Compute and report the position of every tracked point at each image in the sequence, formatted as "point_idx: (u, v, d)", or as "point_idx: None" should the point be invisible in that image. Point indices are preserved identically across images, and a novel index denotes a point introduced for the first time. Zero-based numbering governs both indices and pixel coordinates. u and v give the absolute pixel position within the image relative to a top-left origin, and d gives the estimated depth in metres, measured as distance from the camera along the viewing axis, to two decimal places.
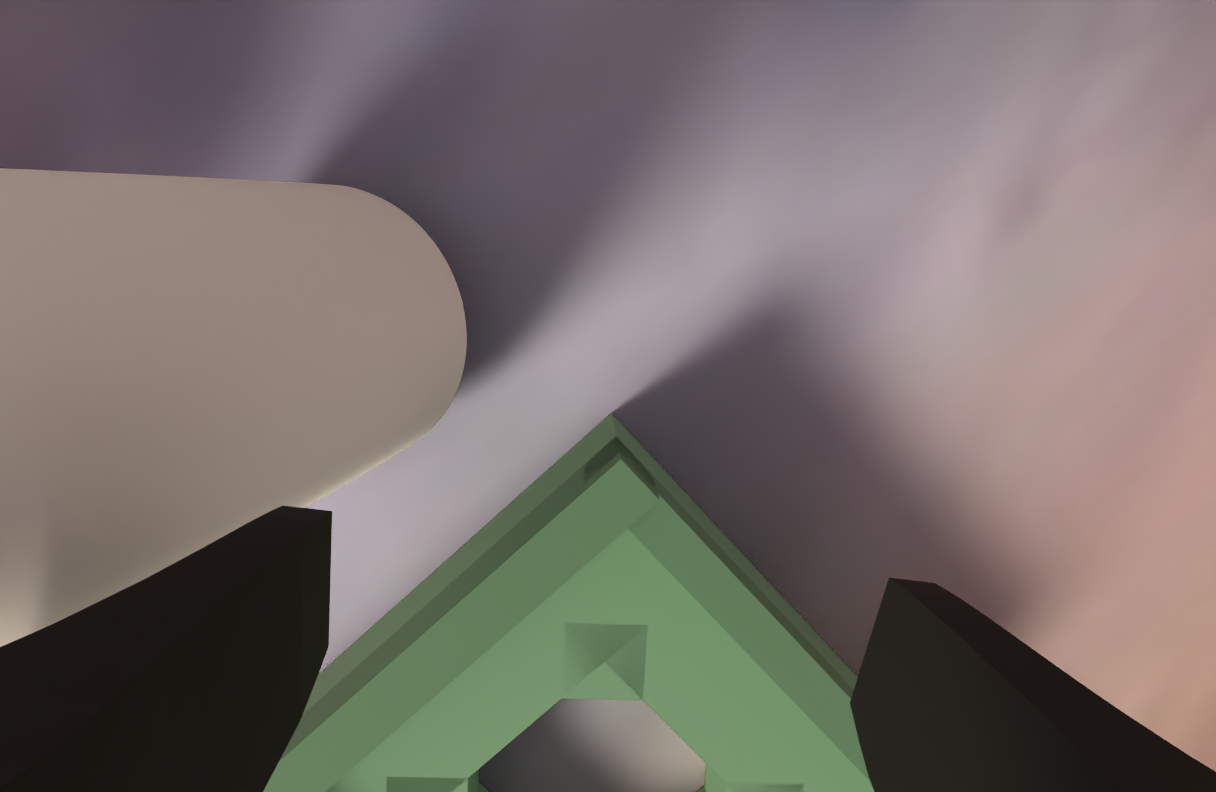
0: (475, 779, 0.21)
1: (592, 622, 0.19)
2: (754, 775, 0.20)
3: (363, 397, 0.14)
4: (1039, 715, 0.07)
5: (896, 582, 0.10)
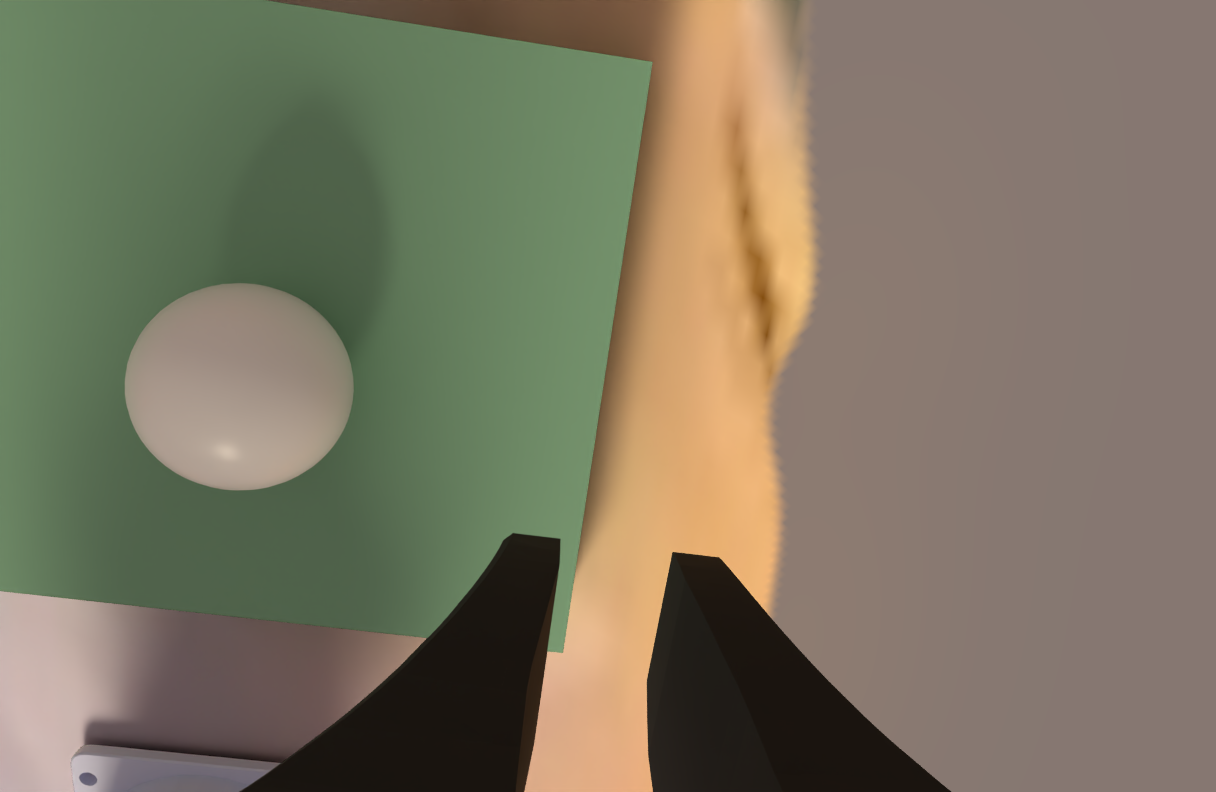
0: None
1: None
2: None
3: None
4: (735, 682, 0.07)
5: (676, 555, 0.10)
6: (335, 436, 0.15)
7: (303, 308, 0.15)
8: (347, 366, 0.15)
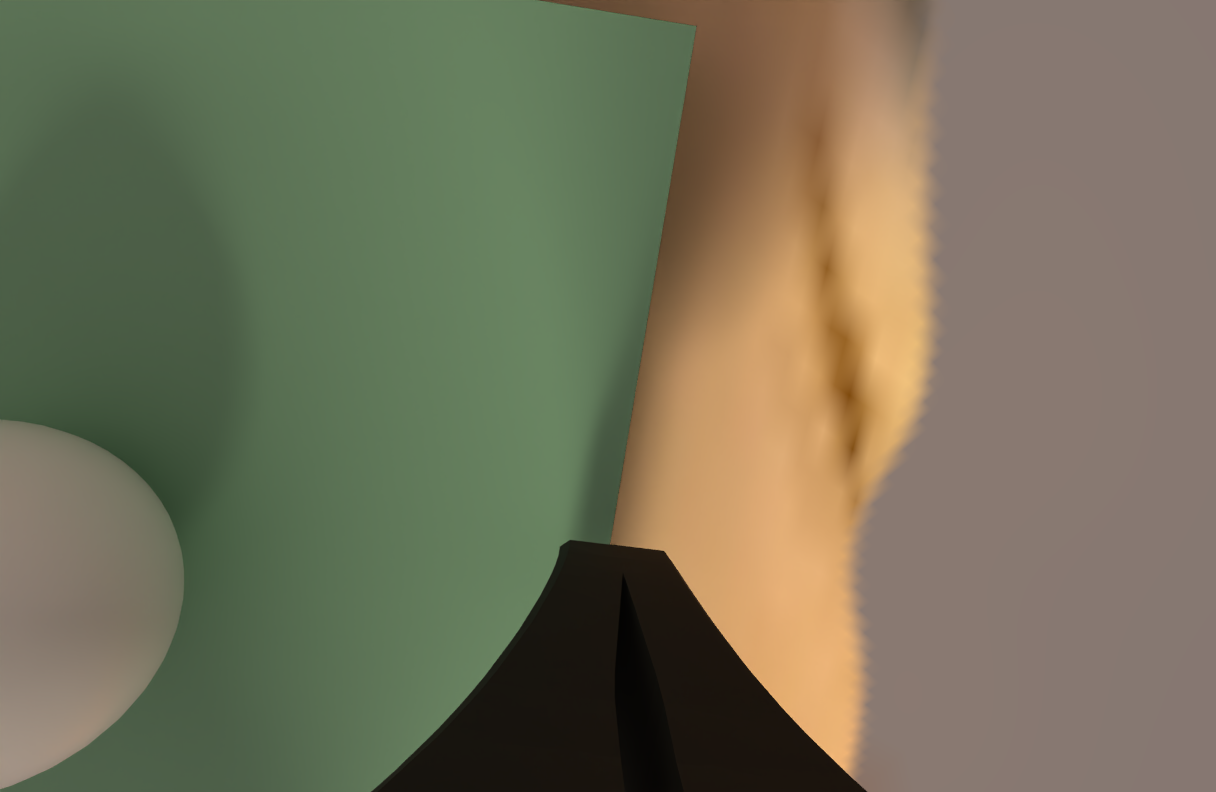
0: None
1: None
2: None
3: None
4: (656, 674, 0.07)
5: (618, 548, 0.09)
6: (136, 687, 0.09)
7: (69, 469, 0.08)
8: (159, 562, 0.09)
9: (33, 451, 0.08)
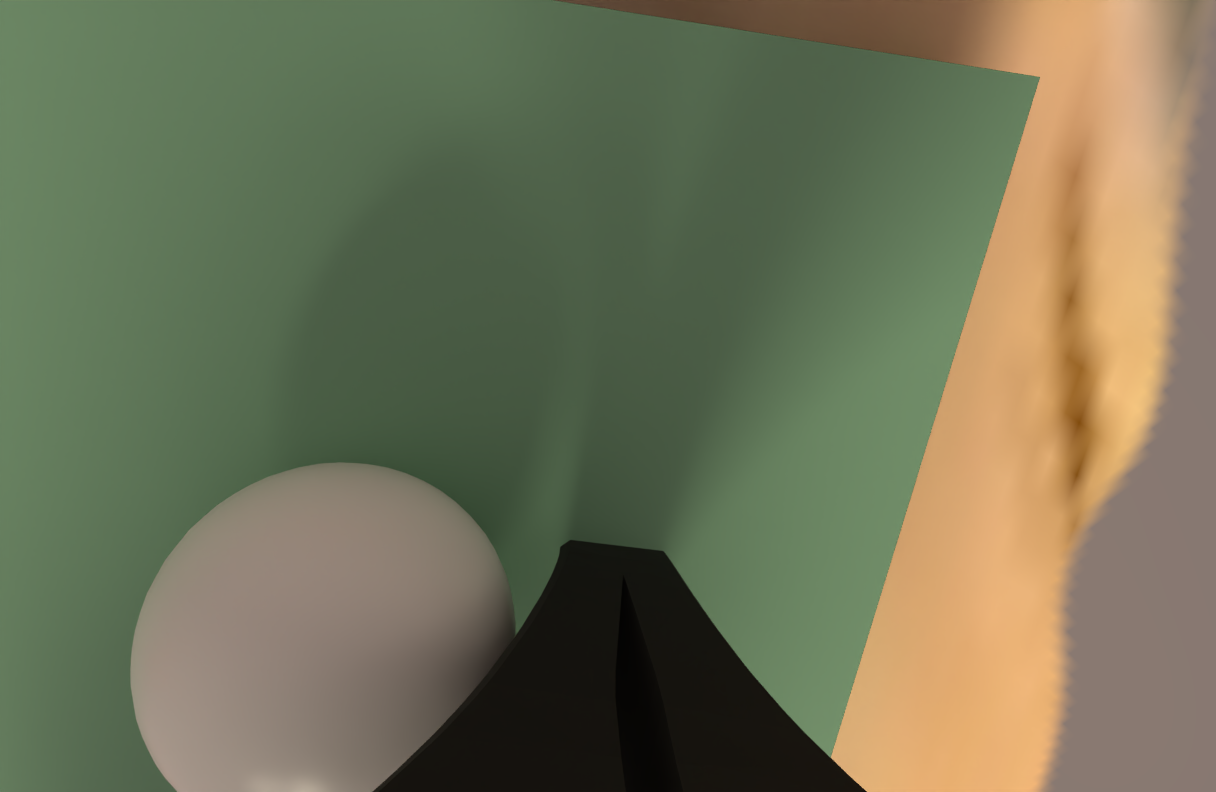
0: None
1: None
2: None
3: None
4: (656, 674, 0.07)
5: (618, 549, 0.09)
6: None
7: (443, 513, 0.08)
8: (511, 601, 0.09)
9: (411, 496, 0.08)
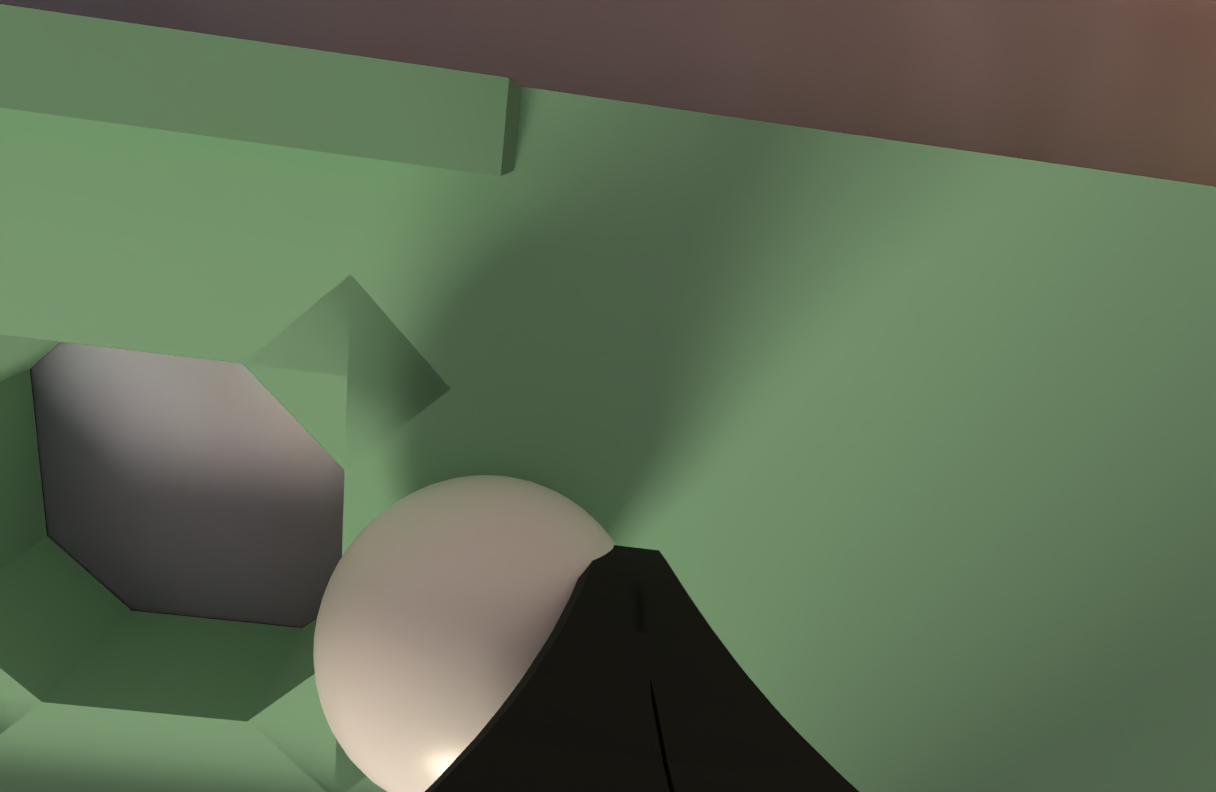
0: (76, 610, 0.14)
1: None
2: (267, 319, 0.10)
3: None
4: (649, 673, 0.07)
5: (613, 548, 0.09)
6: None
7: None
8: None
9: (489, 477, 0.10)
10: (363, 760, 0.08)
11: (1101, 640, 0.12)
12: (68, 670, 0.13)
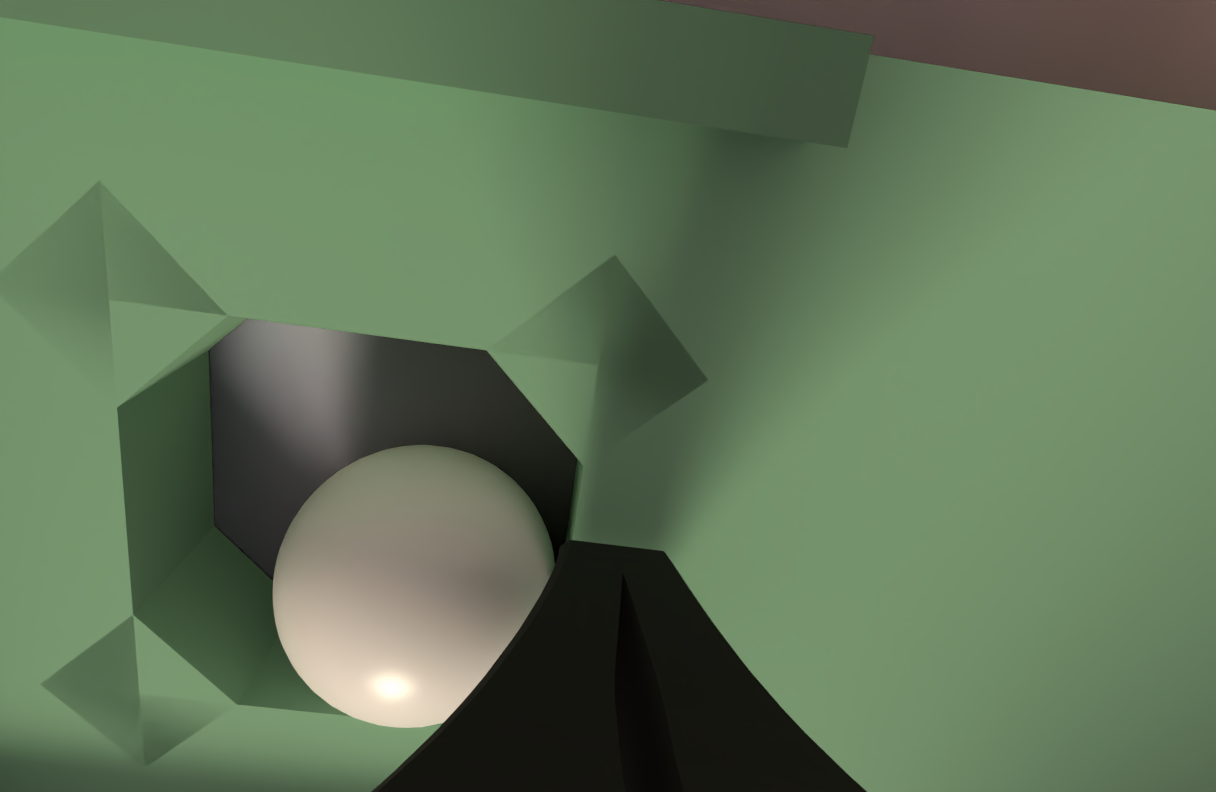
0: (251, 605, 0.13)
1: (21, 247, 0.09)
2: (518, 302, 0.10)
3: None
4: (656, 674, 0.07)
5: (618, 549, 0.09)
6: (442, 717, 0.10)
7: (512, 540, 0.10)
8: None
9: (505, 514, 0.11)
10: None
11: None
12: (254, 669, 0.12)
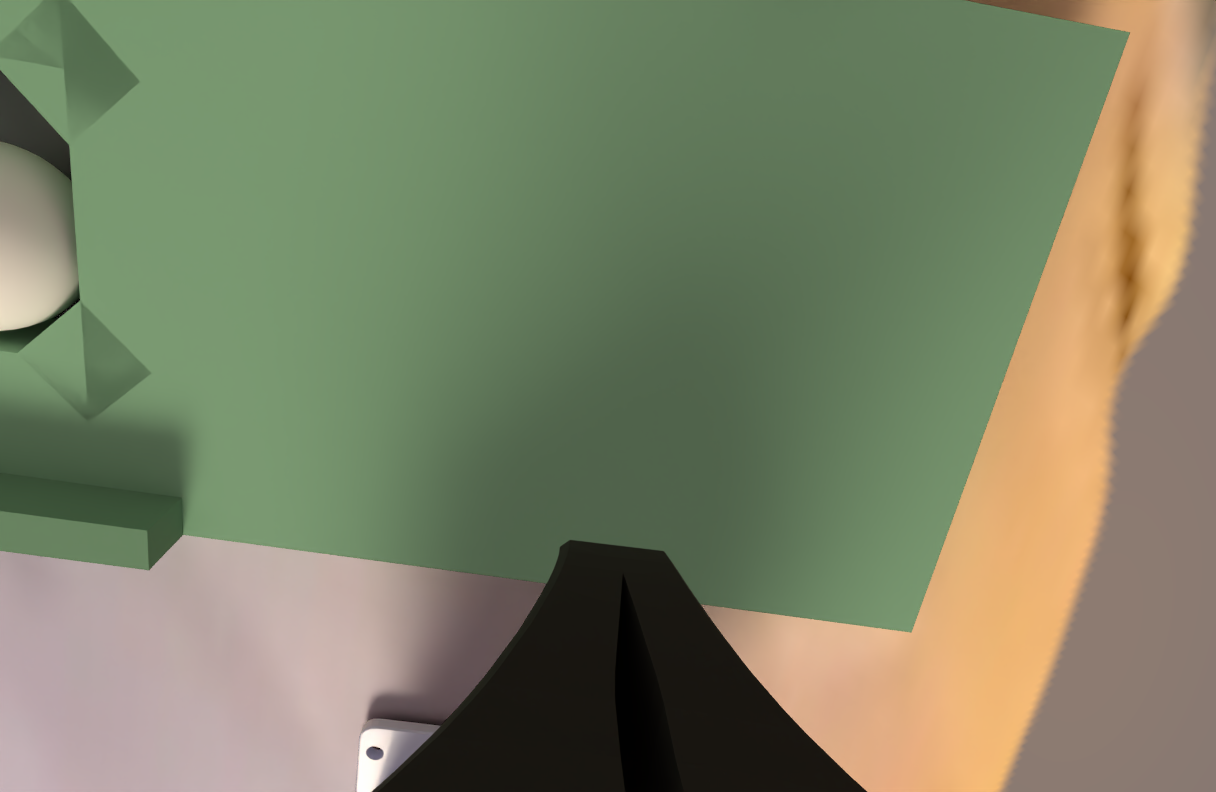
0: None
1: None
2: (1, 20, 0.15)
3: None
4: (656, 674, 0.07)
5: (618, 549, 0.09)
6: None
7: (23, 183, 0.15)
8: (17, 249, 0.15)
9: (24, 170, 0.16)
10: None
11: (644, 310, 0.17)
12: None
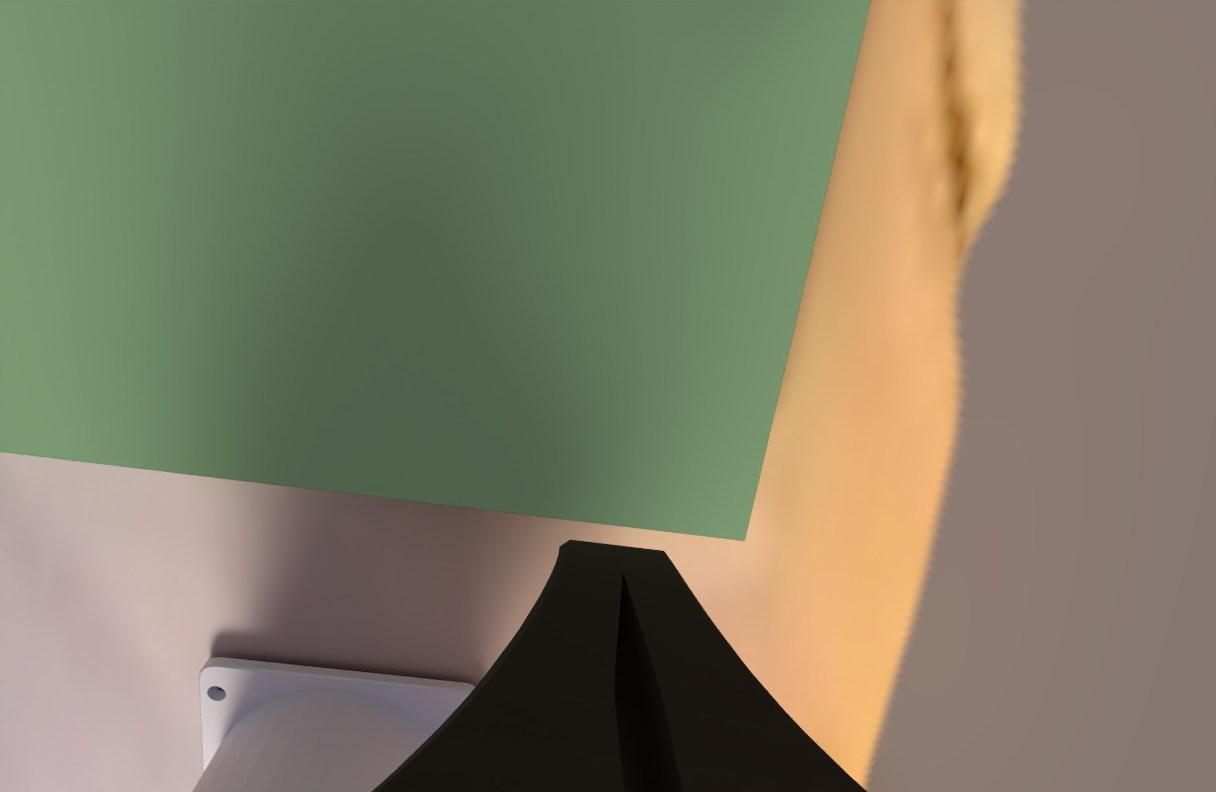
0: None
1: None
2: None
3: None
4: (656, 674, 0.07)
5: (618, 549, 0.09)
6: None
7: None
8: None
9: None
10: None
11: (422, 188, 0.16)
12: None
